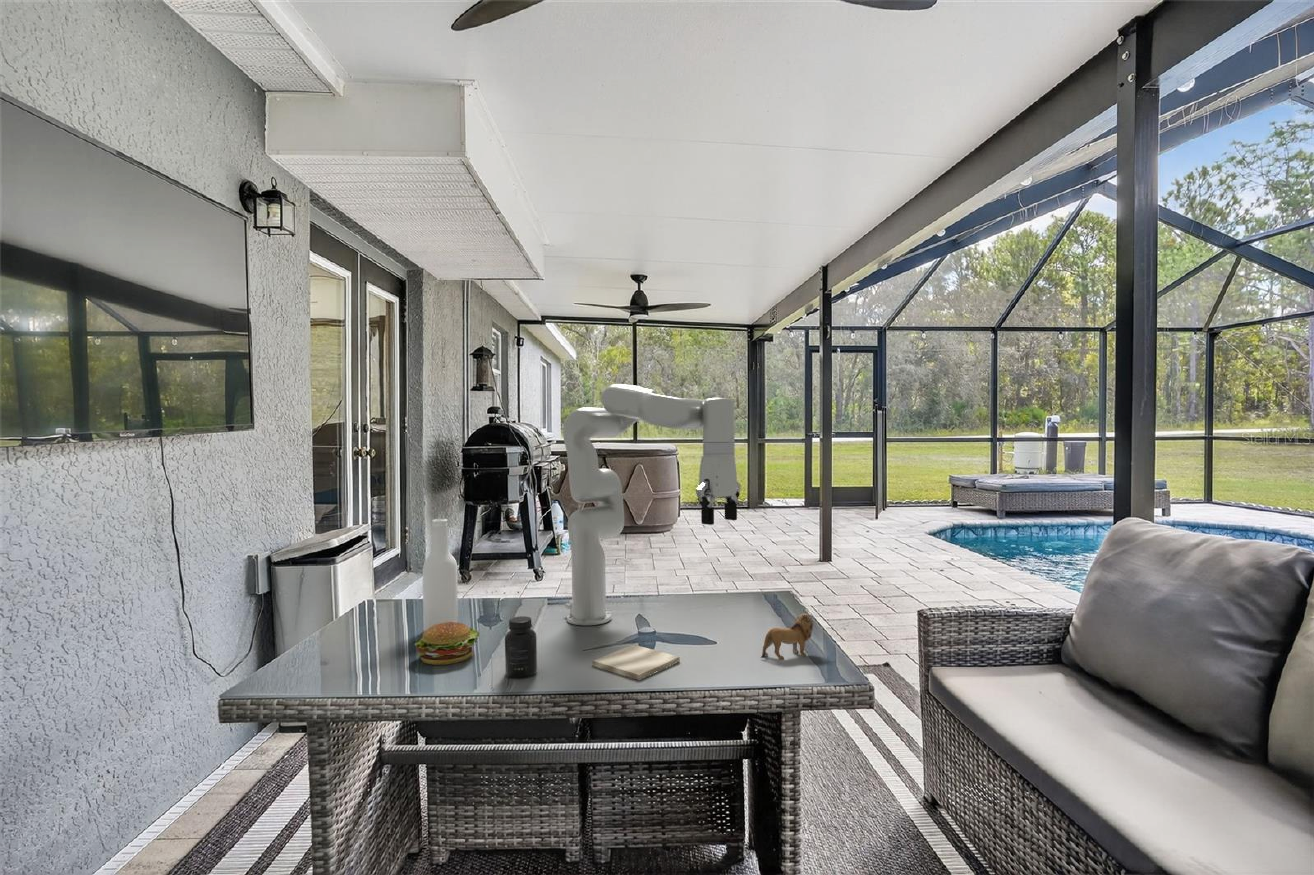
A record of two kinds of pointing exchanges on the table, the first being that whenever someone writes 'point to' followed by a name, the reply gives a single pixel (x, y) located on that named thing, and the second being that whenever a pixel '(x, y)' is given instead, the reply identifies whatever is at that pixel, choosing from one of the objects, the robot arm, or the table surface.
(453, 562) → the alcohol
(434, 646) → the food
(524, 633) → the supplement bottle
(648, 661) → the birch board
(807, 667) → the table surface
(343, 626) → the table surface
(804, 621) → the lion figurine
